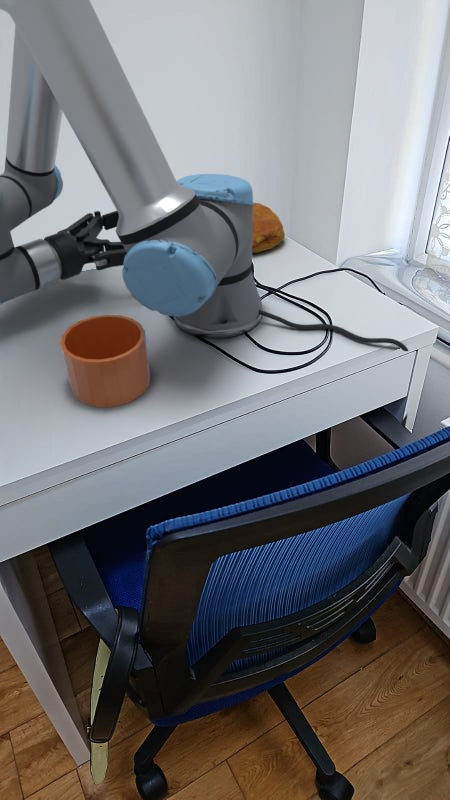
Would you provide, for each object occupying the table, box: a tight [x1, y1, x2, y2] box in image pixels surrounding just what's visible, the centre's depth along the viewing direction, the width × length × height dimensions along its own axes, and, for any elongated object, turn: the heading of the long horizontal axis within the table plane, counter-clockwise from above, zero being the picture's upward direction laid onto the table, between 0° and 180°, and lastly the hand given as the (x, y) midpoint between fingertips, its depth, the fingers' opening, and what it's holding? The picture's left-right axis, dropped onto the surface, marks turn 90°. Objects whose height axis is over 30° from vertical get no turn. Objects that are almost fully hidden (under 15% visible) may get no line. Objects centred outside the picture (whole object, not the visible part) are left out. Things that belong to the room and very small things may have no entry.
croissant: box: [252, 202, 286, 254], centre depth 119 cm, size 14×16×8 cm
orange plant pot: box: [59, 314, 151, 408], centre depth 83 cm, size 12×12×8 cm
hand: (153, 223), depth 108 cm, fingers open, 13 cm apart
